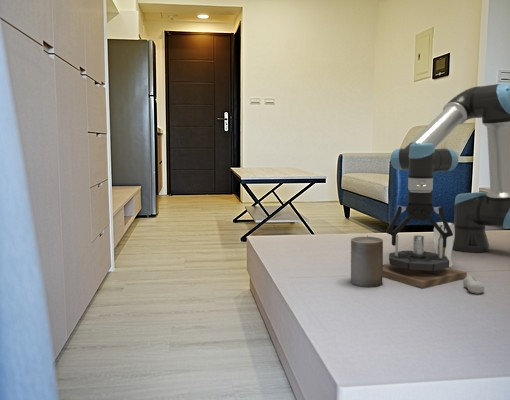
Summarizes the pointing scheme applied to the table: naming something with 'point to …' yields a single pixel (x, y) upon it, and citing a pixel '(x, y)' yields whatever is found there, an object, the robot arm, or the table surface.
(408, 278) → the walnut base
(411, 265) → the dark grey faceted disc
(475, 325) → the table surface
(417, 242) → the steel post
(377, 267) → the pillar candle
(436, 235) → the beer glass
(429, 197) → the robot arm
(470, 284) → the smooth white sculpture
